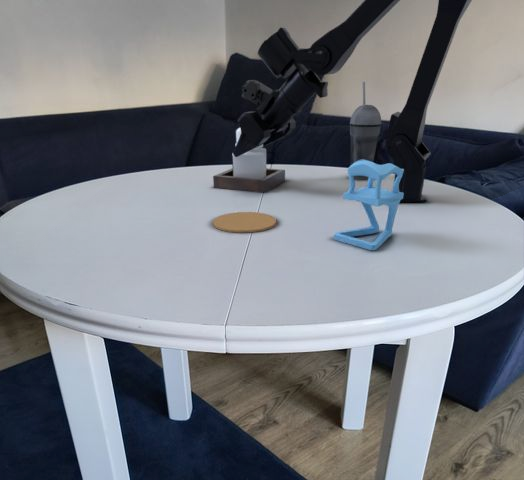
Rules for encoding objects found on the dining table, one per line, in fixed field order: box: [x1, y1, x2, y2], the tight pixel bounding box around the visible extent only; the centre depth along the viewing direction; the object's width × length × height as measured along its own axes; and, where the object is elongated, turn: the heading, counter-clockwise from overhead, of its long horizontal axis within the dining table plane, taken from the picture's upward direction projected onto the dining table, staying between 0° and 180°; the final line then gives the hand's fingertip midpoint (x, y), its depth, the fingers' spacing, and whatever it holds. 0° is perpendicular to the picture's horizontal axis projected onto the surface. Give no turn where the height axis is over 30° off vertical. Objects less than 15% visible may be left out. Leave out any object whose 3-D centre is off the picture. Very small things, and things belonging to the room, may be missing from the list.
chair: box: [333, 159, 404, 252], centre depth 73 cm, size 8×8×12 cm
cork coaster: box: [212, 211, 277, 234], centre depth 84 cm, size 11×11×1 cm
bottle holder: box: [212, 167, 286, 193], centre depth 109 cm, size 12×12×2 cm
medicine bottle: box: [231, 126, 267, 179], centre depth 107 cm, size 7×7×12 cm
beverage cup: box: [348, 81, 383, 181], centre depth 110 cm, size 7×7×20 cm
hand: (244, 152), depth 107 cm, fingers open, 9 cm apart
